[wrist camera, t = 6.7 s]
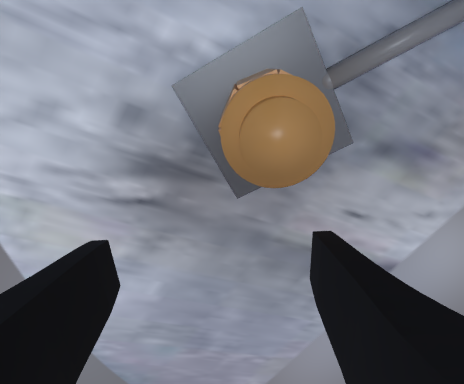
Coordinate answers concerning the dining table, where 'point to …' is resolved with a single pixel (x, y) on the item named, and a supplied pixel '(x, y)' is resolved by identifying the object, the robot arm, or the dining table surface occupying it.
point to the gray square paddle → (294, 73)
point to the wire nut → (276, 129)
